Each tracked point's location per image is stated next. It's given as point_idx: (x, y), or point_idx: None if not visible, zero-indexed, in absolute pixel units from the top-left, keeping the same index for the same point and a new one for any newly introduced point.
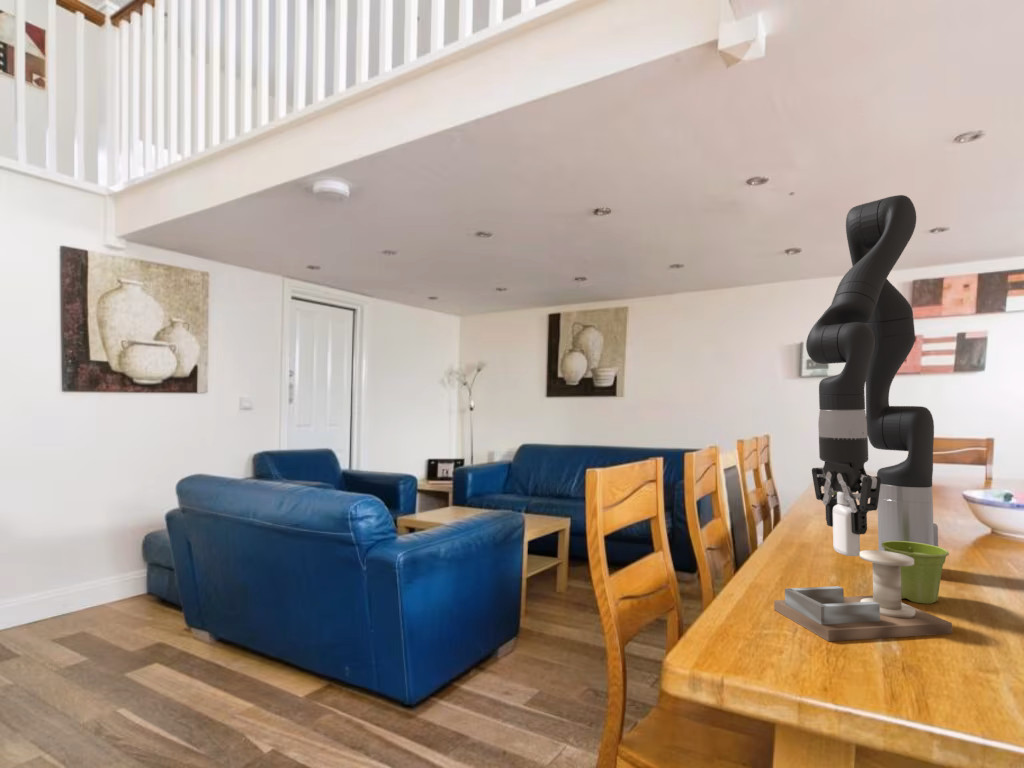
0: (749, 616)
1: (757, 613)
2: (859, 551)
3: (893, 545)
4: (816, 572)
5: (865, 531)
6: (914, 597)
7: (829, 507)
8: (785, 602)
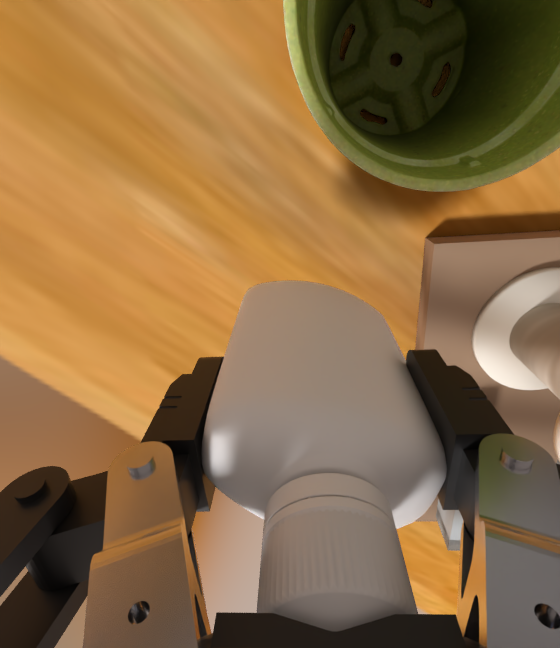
0: (421, 552)
1: (411, 535)
2: (387, 324)
3: (303, 20)
4: (102, 231)
5: (435, 353)
6: (443, 113)
7: (209, 500)
8: (438, 520)
